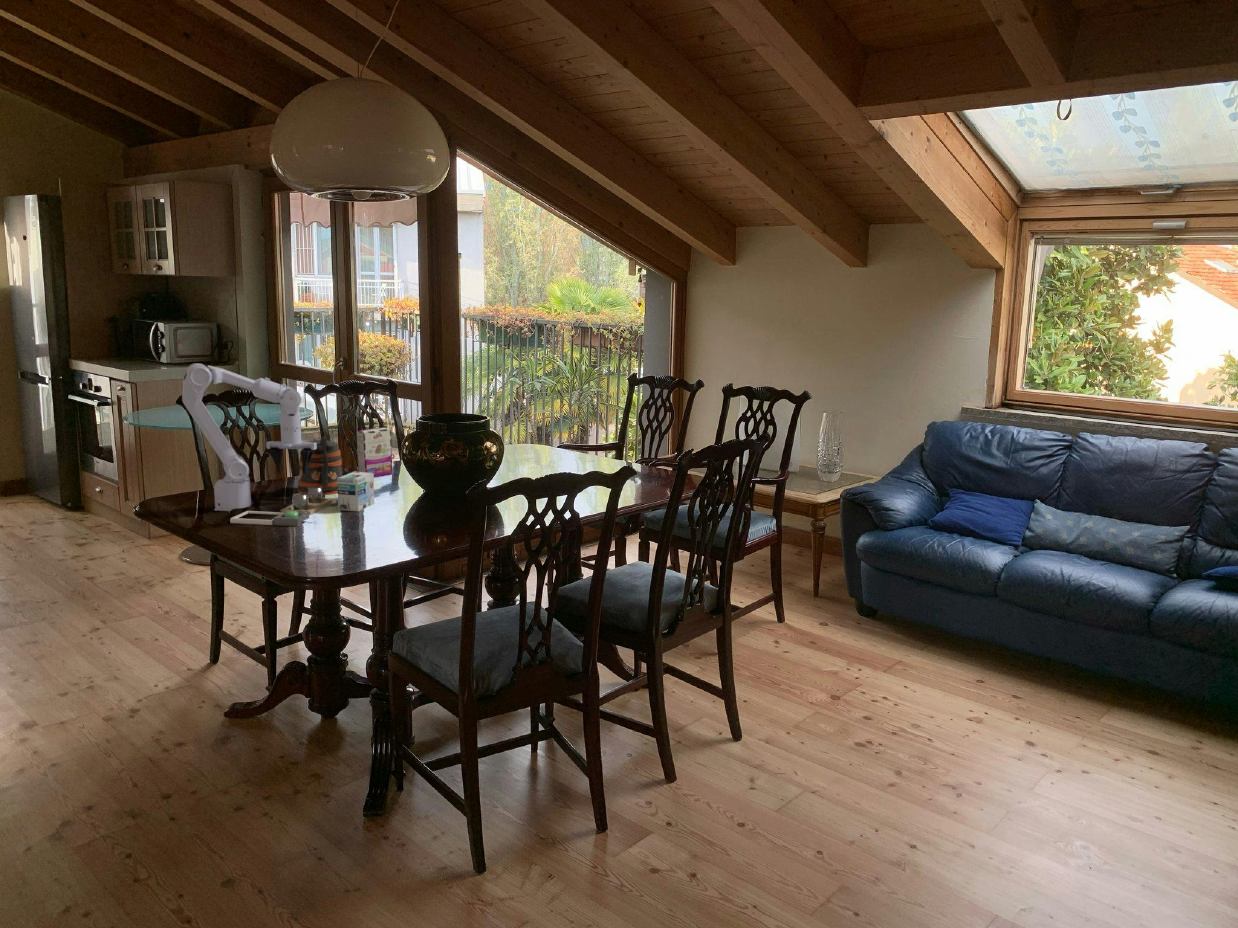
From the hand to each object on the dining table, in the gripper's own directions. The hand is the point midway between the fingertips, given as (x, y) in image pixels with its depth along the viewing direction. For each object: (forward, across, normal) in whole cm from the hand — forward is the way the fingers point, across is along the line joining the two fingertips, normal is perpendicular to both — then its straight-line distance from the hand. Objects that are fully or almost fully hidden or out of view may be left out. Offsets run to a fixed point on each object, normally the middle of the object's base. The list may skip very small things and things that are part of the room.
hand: (292, 472), depth 279 cm
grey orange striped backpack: (+10, +4, +14) cm, 18 cm away
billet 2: (+9, +8, -3) cm, 12 cm away
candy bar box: (+10, +11, +46) cm, 49 cm away
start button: (+8, +8, -23) cm, 26 cm away
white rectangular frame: (+10, -2, -21) cm, 23 cm away
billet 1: (+9, +7, -13) cm, 17 cm away
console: (+10, +8, -23) cm, 26 cm away
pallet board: (+10, +7, -8) cm, 15 cm away
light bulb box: (+10, +21, -5) cm, 24 cm away
